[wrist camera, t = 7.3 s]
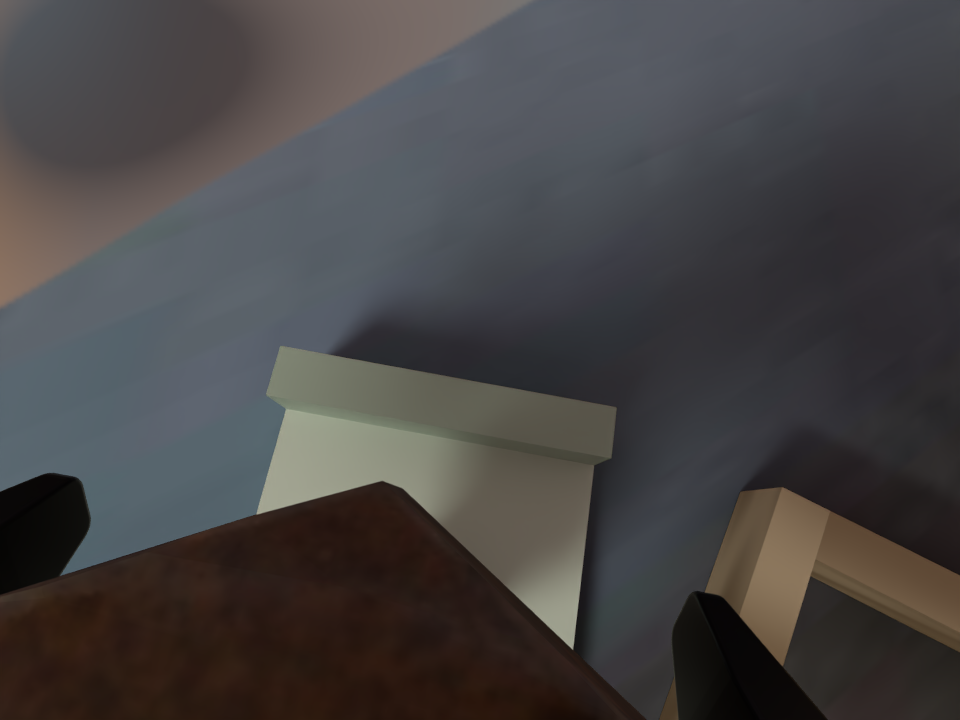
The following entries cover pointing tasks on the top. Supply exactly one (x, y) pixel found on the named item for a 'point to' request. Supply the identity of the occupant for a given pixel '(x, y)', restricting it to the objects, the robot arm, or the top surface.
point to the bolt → (294, 628)
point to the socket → (821, 572)
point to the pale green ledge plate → (450, 463)
